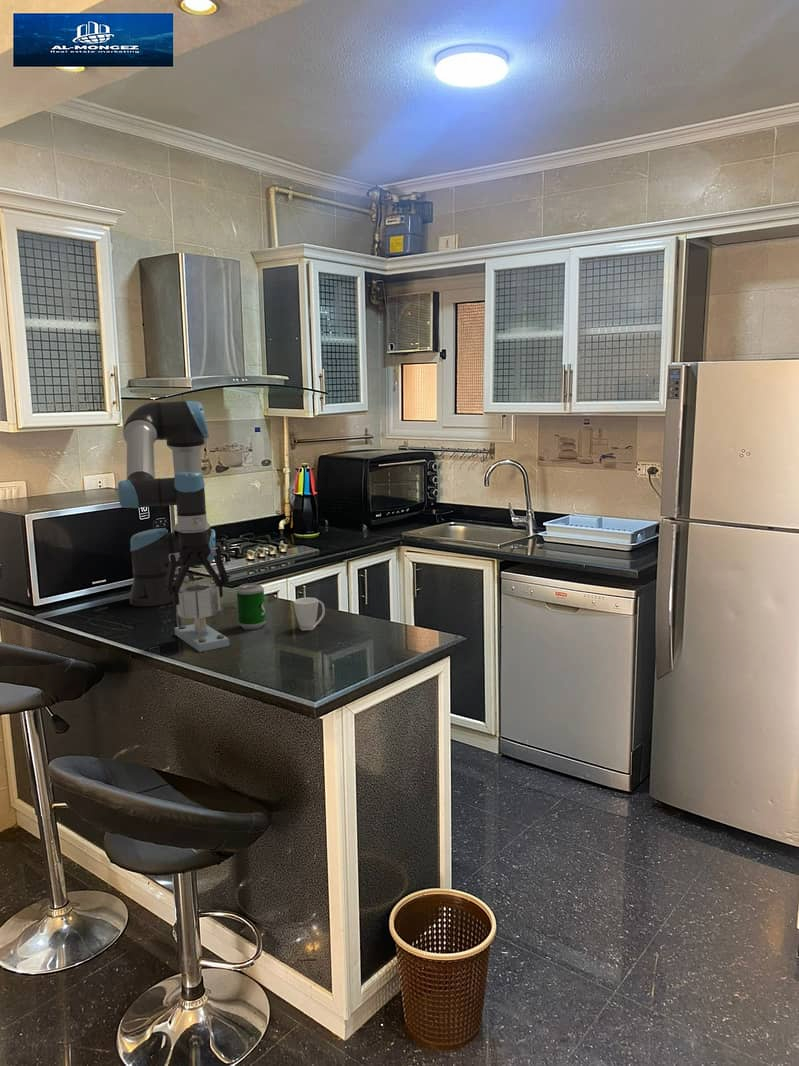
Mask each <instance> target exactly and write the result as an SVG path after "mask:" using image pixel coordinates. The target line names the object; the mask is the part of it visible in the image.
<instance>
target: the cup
mask: <svg viewBox="0 0 799 1066" xmlns="http://www.w3.org/2000/svg"><path fill="white" fill-rule="evenodd" d="M292 602H293V606H294V607H293V608H294V611H295V616H296V619H297V623H298V625H299V628H300V629H301V631H305V630H306V631H307V630H308V631H312V630H315V629H316V627H317V626H318V625H319V624H320V623H321V621H322V620H323V619H324V617H325V614H326V608H325V603H324V602H323V601H321V600H319V599H317V598H316V597H301V598H297V599H295V600H292ZM319 604H320V605H321V608H322V609H321V610H322V614H321V616H320V617H319V618H318V609H319ZM317 618H318V620H317ZM314 628H315V629H314ZM300 629H299V630H300Z"/></svg>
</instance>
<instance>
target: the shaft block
mask: <svg viewBox="0 0 799 1066" xmlns="http://www.w3.org/2000/svg"><path fill="white" fill-rule="evenodd" d="M206 618H207V617H203V618H193V622H194V623H192V624H187V625H186V624H182V625H178V626H177V627H174V635H175V636H177V637H178V638H179V639H181V640H182V641H184V642H185V643H187V644H188V645H189V646H191V647H192V648H193V649H195V650H196V651H197V652H199V653H202V651H203V652H207V651H212V650H217V649H221V648H226V647H230V639H229V638H228V636H226V635H224V634H222V633H221V632H219V631H217V630H215V629H214V628H213V627H210V626H209V625H208V624H207V619H206Z"/></svg>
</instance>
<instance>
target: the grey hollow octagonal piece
mask: <svg viewBox="0 0 799 1066" xmlns="http://www.w3.org/2000/svg"><path fill="white" fill-rule="evenodd" d="M215 585H216V584H211V583H196V584H189V585H185V586H181V587H180V590H179V592H181V593H182V602H183V614H184V617H182V618H184V619H194V618H203V617H206V618H209V617H212V616H214V615H216V614H218V613H219V611H218V599H217V586H215Z"/></svg>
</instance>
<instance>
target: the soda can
mask: <svg viewBox="0 0 799 1066" xmlns="http://www.w3.org/2000/svg"><path fill="white" fill-rule="evenodd" d="M264 592H265V590H264V587H263V586H262V585H261V584H260V583H256V582H249V583H243V584H241V585H239V587H237V589H236V597H237V598H236V599H237V609H238V610H237V613H238V614H237V616H238V624H239V626H240V627H242V629H244V630H257V629H260V628H263V627H264V625H265V624H266V623H267V621H266V620H267V619H266V606H265V605H266V604H265V603H266V602H265V593H264ZM262 626H263V627H262Z"/></svg>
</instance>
